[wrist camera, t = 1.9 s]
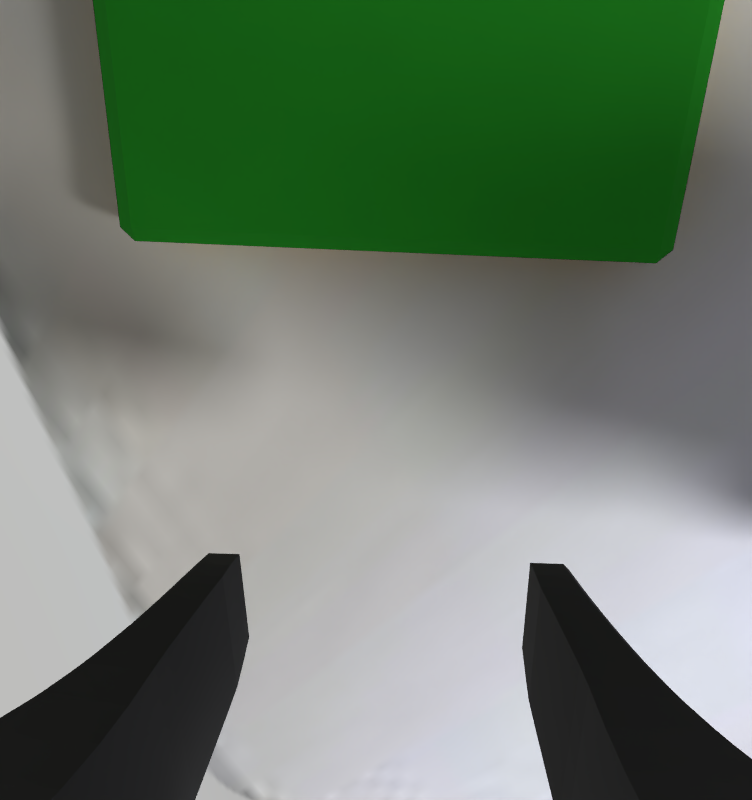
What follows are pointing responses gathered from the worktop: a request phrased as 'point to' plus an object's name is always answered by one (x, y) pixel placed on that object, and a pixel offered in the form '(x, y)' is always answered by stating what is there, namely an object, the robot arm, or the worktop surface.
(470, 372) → the worktop surface
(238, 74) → the dish sponge
